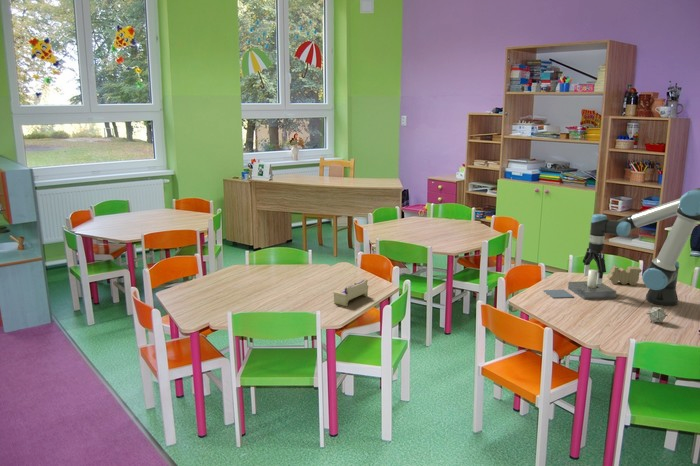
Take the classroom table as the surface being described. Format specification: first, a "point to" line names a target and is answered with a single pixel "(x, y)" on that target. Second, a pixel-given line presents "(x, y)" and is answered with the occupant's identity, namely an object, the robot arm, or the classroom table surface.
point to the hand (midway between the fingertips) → (592, 279)
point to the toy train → (624, 275)
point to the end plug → (592, 279)
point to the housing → (591, 290)
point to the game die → (657, 314)
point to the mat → (558, 294)
